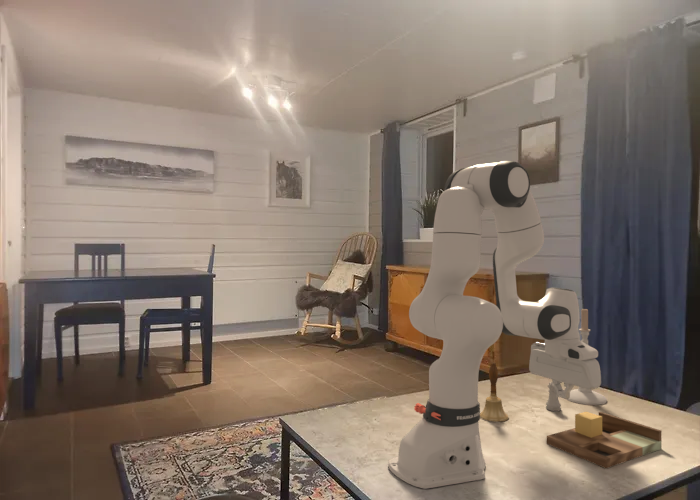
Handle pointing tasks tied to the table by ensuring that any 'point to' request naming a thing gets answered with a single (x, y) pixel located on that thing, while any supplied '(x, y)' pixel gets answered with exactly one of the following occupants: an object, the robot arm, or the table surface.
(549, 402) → the rook chess piece
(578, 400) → the candlestick
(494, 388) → the hand bell
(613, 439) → the box
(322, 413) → the table surface
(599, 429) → the block
